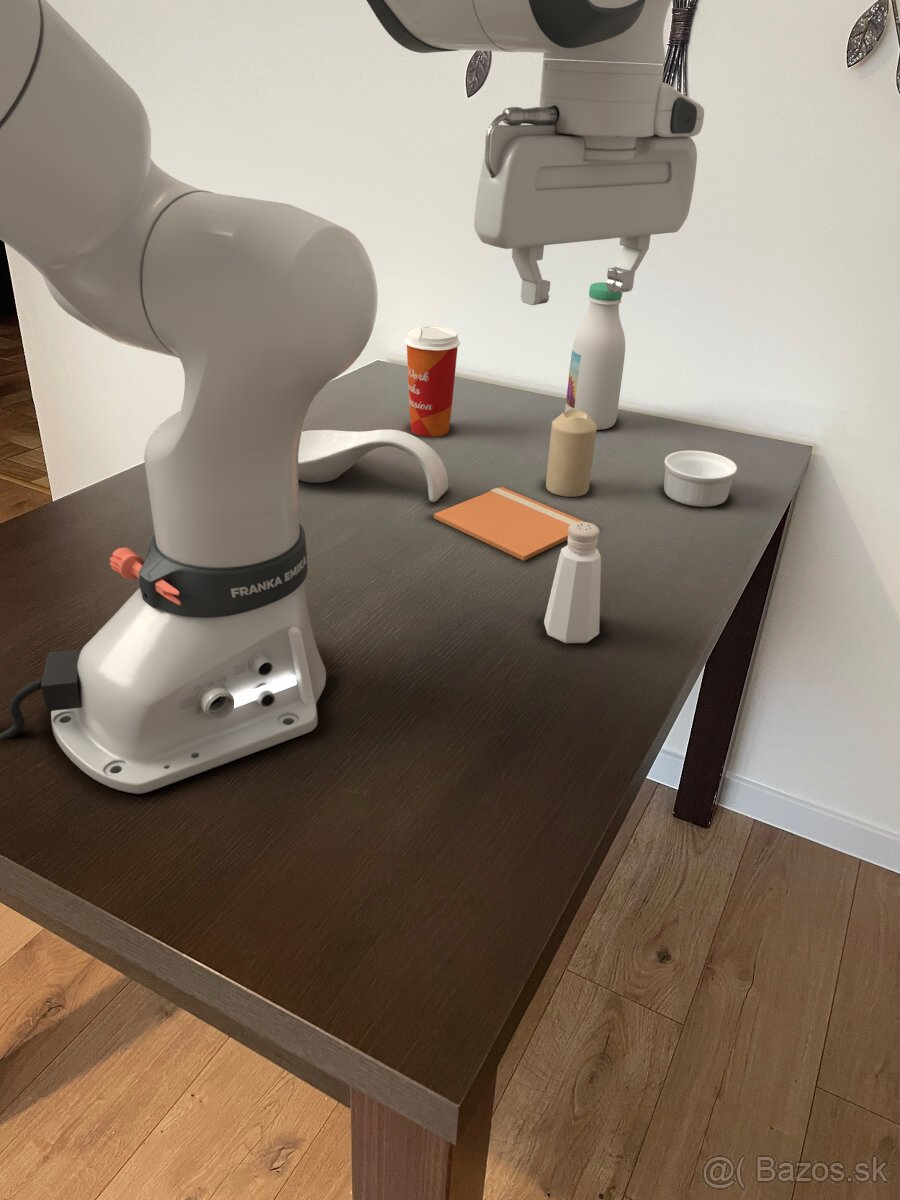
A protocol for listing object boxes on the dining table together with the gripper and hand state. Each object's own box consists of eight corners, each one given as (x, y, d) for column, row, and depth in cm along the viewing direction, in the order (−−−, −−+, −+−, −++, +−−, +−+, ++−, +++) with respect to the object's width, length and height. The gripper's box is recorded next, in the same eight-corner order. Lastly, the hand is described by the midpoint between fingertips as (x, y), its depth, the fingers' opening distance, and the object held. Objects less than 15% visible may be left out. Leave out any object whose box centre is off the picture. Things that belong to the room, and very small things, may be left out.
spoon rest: (249, 482, 115) (245, 427, 111) (294, 450, 125) (291, 399, 121) (426, 516, 109) (428, 460, 105) (459, 480, 118) (461, 426, 114)
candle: (587, 499, 115) (596, 423, 109) (543, 494, 115) (550, 418, 110) (590, 482, 119) (599, 408, 114) (548, 477, 120) (555, 403, 115)
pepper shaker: (537, 637, 87) (548, 534, 82) (550, 609, 92) (561, 509, 86) (593, 649, 86) (608, 545, 80) (603, 620, 90) (619, 519, 85)
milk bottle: (623, 420, 140) (642, 284, 130) (602, 435, 134) (621, 294, 124) (577, 409, 143) (592, 276, 133) (555, 423, 138) (569, 285, 127)
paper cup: (397, 422, 135) (398, 326, 128) (447, 418, 137) (450, 324, 130) (411, 441, 129) (413, 341, 122) (463, 437, 131) (468, 339, 124)
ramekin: (698, 515, 112) (705, 483, 110) (645, 490, 118) (650, 458, 116) (745, 499, 116) (752, 468, 114) (691, 475, 122) (697, 445, 120)
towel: (523, 561, 100) (524, 555, 100) (433, 518, 108) (433, 512, 108) (590, 528, 108) (591, 523, 107) (501, 490, 116) (501, 485, 116)
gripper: (517, 110, 61) (503, 320, 68) (720, 110, 72) (689, 292, 79) (461, 103, 66) (453, 302, 73) (660, 104, 76) (636, 278, 83)
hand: (577, 297), depth 76 cm, fingers open, 8 cm apart
